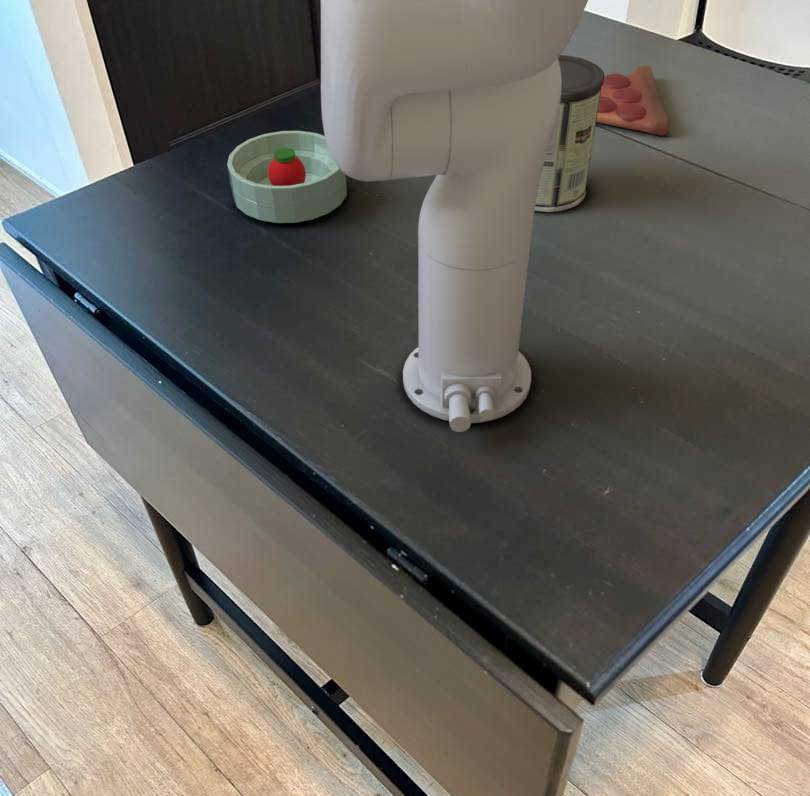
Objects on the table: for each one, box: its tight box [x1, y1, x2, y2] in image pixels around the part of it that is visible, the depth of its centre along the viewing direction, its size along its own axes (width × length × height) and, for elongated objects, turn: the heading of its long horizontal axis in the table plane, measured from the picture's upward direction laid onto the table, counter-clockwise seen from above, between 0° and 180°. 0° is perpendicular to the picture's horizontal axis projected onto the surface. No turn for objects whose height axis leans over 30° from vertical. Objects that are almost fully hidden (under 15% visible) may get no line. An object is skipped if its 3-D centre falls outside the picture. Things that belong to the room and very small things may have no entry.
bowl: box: [226, 130, 348, 224], centre depth 103 cm, size 14×14×5 cm
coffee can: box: [535, 54, 605, 213], centre depth 99 cm, size 10×10×14 cm
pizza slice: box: [596, 65, 670, 137], centre depth 118 cm, size 18×2×20 cm
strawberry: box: [268, 148, 306, 186], centre depth 103 cm, size 5×5×5 cm
